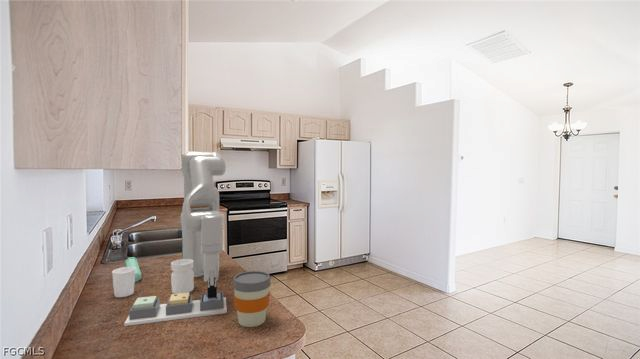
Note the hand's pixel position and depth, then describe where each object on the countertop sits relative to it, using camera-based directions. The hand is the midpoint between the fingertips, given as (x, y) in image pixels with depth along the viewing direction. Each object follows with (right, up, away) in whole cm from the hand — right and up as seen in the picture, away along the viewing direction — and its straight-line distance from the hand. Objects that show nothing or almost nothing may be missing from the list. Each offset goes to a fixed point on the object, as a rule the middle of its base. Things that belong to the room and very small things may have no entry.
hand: (212, 296), depth 117 cm
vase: (-18, -3, +16) cm, 25 cm away
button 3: (0, -3, 0) cm, 3 cm away
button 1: (-21, -1, -7) cm, 22 cm away
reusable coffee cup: (+17, -5, -9) cm, 19 cm away
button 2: (-11, -1, -3) cm, 11 cm away
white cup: (-40, -3, +12) cm, 41 cm away
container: (-49, -3, +34) cm, 60 cm away
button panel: (-11, -4, -3) cm, 12 cm away
